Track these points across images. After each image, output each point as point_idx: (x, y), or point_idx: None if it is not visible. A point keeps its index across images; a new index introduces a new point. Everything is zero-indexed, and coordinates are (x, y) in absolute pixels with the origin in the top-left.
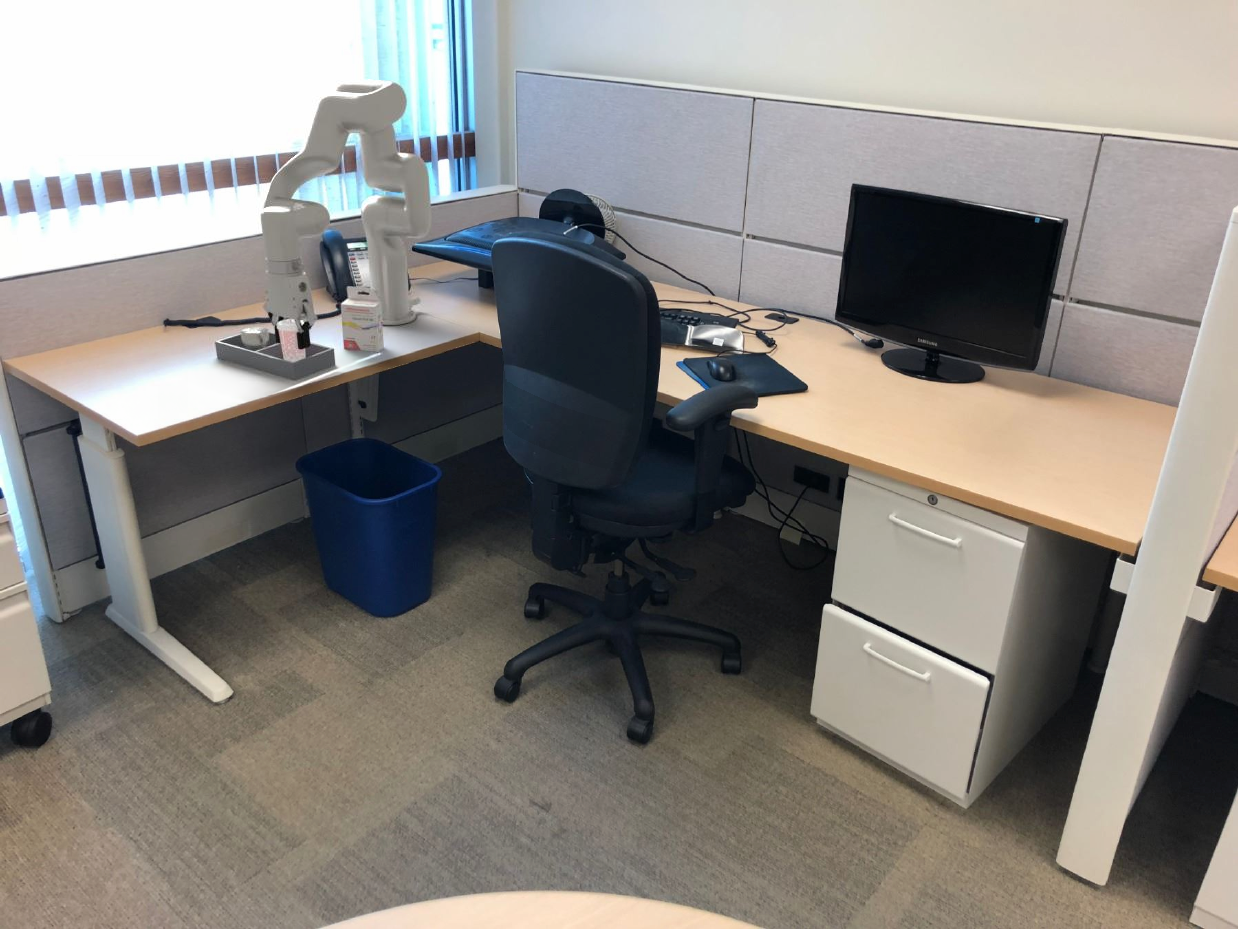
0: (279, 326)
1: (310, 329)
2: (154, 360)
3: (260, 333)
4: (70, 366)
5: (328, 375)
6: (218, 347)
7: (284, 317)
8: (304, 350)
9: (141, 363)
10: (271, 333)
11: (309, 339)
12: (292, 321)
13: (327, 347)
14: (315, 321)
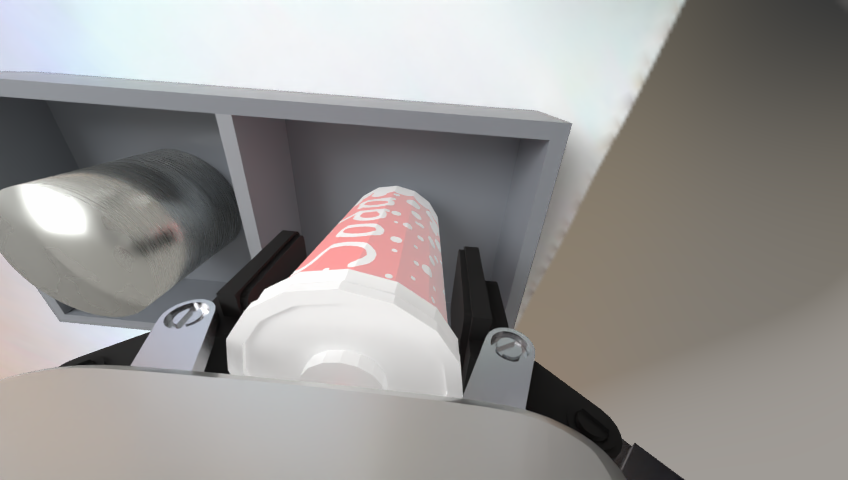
0: None
1: (521, 334)
2: (44, 343)
3: (135, 271)
4: None
5: (558, 205)
6: None
7: (205, 358)
8: (437, 238)
9: (55, 366)
10: (43, 99)
11: (500, 295)
12: (335, 373)
13: (521, 130)
14: (673, 471)
